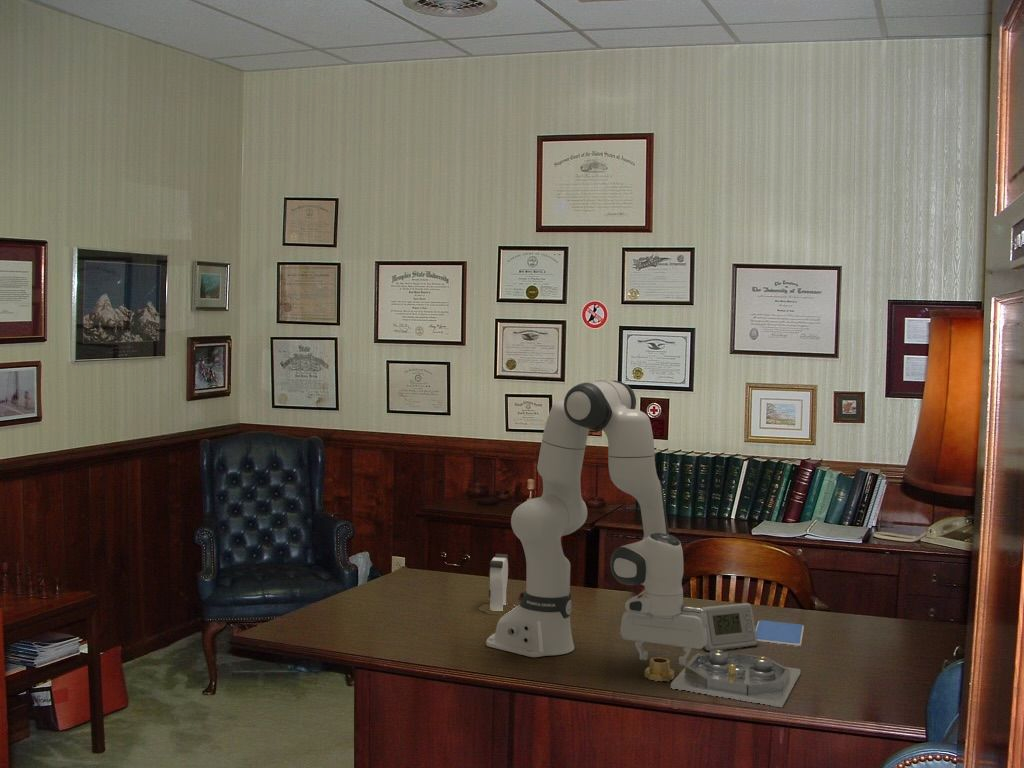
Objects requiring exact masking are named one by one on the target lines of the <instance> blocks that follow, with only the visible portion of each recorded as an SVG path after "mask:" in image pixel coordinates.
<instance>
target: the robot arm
mask: <svg viewBox="0 0 1024 768" xmlns="http://www.w3.org/2000/svg"><path fill="white" fill-rule="evenodd" d="M636 406H637V398H636V394H635V392H634V390H633V389H632V387H630V385H628V384H626V383H624V382H622V381H619V380H606V379H605V380H602V379H601V380H595V381H590V382H582V383H579V384H576V385H574V386H573V387H571V389H569V390H568V392H566V395H565V396H564V399H560V400H557V401H556V402H555V403H554V404H553V405H552V406H551V408H550V410H549V413H548V417H547V419H546V422H545V425H544V426H545V427H544V429H543V434H542V439H541V445H540V449H539V454H538V455H539V456H538V459H537V465H536V466H537V469H536V470H537V472H538V474H539V476H541V479H542V480H541V481H542V495H541V496H537V497H534V498H530V499H528V500H526V501H524V502H522V503H521V504H519V505H518V506H516V508H515V509H514V510H513V512H512V514H511V518H510V525H511V529H512V531H513V534H514V535H515V536H516V537H517V539H519V541H520V542H521V545H522V548H523V551H524V556H525V562H526V563H525V564H526V565H525V566H526V583H525V584H526V588H524V589H523V591H522V592H520V593H519V594H518V595H517V596H516V597H517V598H516V601H519V604H518V605H515V606H516V607H515V608H513V609H512V610H511V611H509V612H508V613H506V614H504V615H502V616H501V617H500V618H499V620H498V621H497V624H496V629H495V632H494V633H492V634H491V635H490V636H488V638H487V639H486V642H485V645H486V646H487V647H489V648H494V649H497V650H501V651H505V652H509V653H514V654H517V655H521V656H522V655H523V656H526V657H530V658H539V657H545V656H560V655H561V656H562V655H565V654H568V653H571V652H573V651H574V650H575V644H574V640H573V636H572V635H573V634H572V628H571V627H572V626H571V614H572V593H571V591H570V589H571V562H570V561H569V559H568V558H567V557H566V556H565V553H564V551H563V546H562V537H564V536H568V535H571V534H572V533H574V532H576V531H577V530H579V529H580V528H581V527H582V526H583V525H584V524H585V522H586V520H587V518H588V507H587V505H586V502H585V501H584V500H583V497H582V490H581V489H582V488H581V477H582V476H581V475H582V470H583V469H582V468H583V463H584V457H585V451H586V446H587V439H588V435H589V433H590V430H591V431H594V432H595V433H596V432H597V433H598V432H601V431H602V432H604V434H605V435H606V438H607V445H608V446H607V450H608V452H607V455H608V459H607V461H608V473H609V477H610V481H612V484H614V485H615V487H616V488H618V489H619V490H621V491H622V492H624V493H626V494H628V495H630V496H632V497H633V498H634V499H636V501H637V503H638V505H639V507H640V514H641V515H640V516H641V521H642V530H643V538H642V540H641V539H640V540H639V541H636V542H632V543H629V544H628V543H627V544H625V545H621V546H619V547H617V548H616V549H614V551H613V552H612V554H611V556H610V560H609V561H610V563H609V565H610V571H611V574H612V576H613V578H614V579H616V581H617V582H618V583H619V584H621V585H624V586H625V585H626V586H636V585H637V586H638V585H642V586H644V590H645V594H642V595H639V594H638V595H634V596H632V597H630V598H629V599H628V600H626V601H625V603H624V608H625V611H624V612H623V614H622V615H621V622H620V634H619V635H620V636H621V638H622V639H623V640H625V641H634V646H635V648H636V649H637V651H638V653H639V660H641V661H647V660H648V654H649V652H648V651H646V650H645V648H644V647H643V644H644V643H648V644H649V643H650V644H658V645H664V646H673V647H681V648H683V652H684V655H683V656H682V655H681V656H678V665H679V666H684V667H685V666H686V664H687V663H688V657H689V655H690V653H691V651H692V650H693V649H695V650H696V649H697V650H702V649H704V648H705V647H704V646H705V645H706V644H707V631H706V626H707V623H708V616H707V613H706V612H705V611H703V610H702V609H701V608H702V607H701V608H700V607H692V606H687V605H684V589H683V585H682V582H683V581H682V580H683V576H684V551H683V547H682V543H681V541H680V539H678V538H677V537H676V536H674V535H672V534H670V532H669V531H670V530H669V524H668V516H667V508H666V499H665V493H664V490H663V486H662V482H661V480H660V479H659V477H658V474H657V473H658V472H657V468H656V461H655V459H656V458H655V457H656V456H655V442H654V434H653V429H652V423H651V420H650V417H649V416H648V415H647V413H645V412H643V411H642V410H639V409H636ZM701 612H703V613H701Z"/></svg>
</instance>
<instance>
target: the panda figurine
mask: <svg viewBox="0 0 1024 768" xmlns="http://www.w3.org/2000/svg"><path fill="white" fill-rule="evenodd" d="M508 559H509V554H507V553H495V556H493V558H492V559H491V560H490V562H489V572H488V580H489V581H488V582H489V589H488V598H489V603H490V610H492V611H503V605H506V603H507V586H508V585H507V584H508V576H509V562H508V561H509V560H508Z"/></svg>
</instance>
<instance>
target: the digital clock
mask: <svg viewBox="0 0 1024 768" xmlns="http://www.w3.org/2000/svg"><path fill="white" fill-rule="evenodd" d="M701 609H702V610H703V611H705V612H706V613H707V616H708V623H707V626H706V631H707V644H706V645H705V646H704V647H703V648H704V649H705V650H706V651H708V652H710V651H711V650H716V649H720V650H723V651H728V650H727V649H730V650H736V649H735V648H738V649H744V648H743V647H746V648H747V647H753V646H757V645H758V642H757V636H756V630H755V629H756V625H755V619H754V612H753V608H752V605H751V603H749V602H744V603H729V604H727V603H726V604H719V605H717V604H716V605H711V606H703V607H701ZM701 613H703V612H701ZM741 647H742V648H741Z"/></svg>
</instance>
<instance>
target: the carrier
mask: <svg viewBox="0 0 1024 768" xmlns="http://www.w3.org/2000/svg"><path fill="white" fill-rule="evenodd" d="M800 675H801V669H800V668H796V667H795V668H794V667H788V666H784V665H783V664H780V663H778V662H776V661H775V660H773V659H772V658H771V657H768V656H764V655H754V654H747V653H742V652H741V653H740V652H733V651H727V650H720V649H716V650H711V651H709V653H698V652H697V654H695V655H693V656H692V658H690V660H689V661H687V664H686V666H684V668H683V669H682V670H681V672H679V674H678V675H677V676H676V677H674V678H673V679H672V681H671V683H670V689H671V688H672V689H671V690H675V689H678V690H677V691H681V690H686V691H685V692H687V691H690V692H689V693H693V692H695V693H694V694H698V693H701V694H700V695H704V694H707V695H706V696H710V695H711V696H712V697H716V696H718V697H717V698H722V697H723V699H728V698H731V699H730V700H734V699H735V700H734V701H740V700H741V702H745V701H746V702H747V703H751V702H752V703H753V704H757V703H760V704H759V705H763V704H765V705H764V706H769V705H770V707H775V708H781V709H782V708H783V707H784V705H785V703H786V701H787V700H788V698H789V695H790V694H791V692H792V690H793V688H794V686H795V684H796V683H797V681H798V679H799V677H800ZM711 696H710V697H711Z"/></svg>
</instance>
